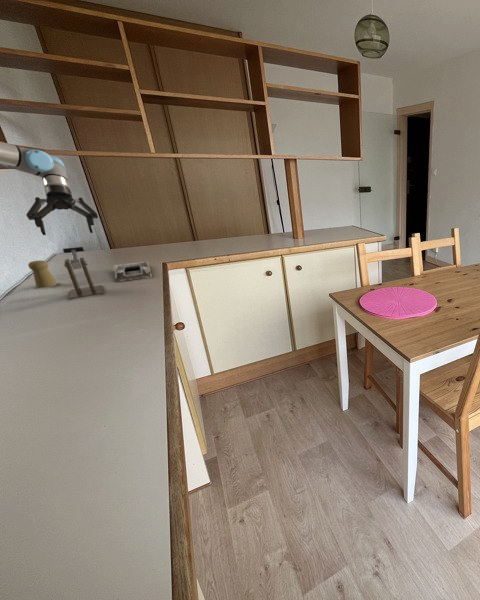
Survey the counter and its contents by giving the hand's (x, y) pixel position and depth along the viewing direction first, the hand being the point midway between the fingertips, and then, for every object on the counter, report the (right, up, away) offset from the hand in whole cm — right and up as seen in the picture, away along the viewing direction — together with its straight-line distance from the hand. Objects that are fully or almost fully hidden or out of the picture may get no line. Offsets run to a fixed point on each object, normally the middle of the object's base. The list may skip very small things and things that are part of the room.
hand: (68, 232), depth 127 cm
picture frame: (+11, -16, +18) cm, 27 cm away
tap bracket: (+14, -25, -6) cm, 29 cm away
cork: (-9, -23, +1) cm, 24 cm away
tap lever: (+10, -12, -7) cm, 17 cm away
